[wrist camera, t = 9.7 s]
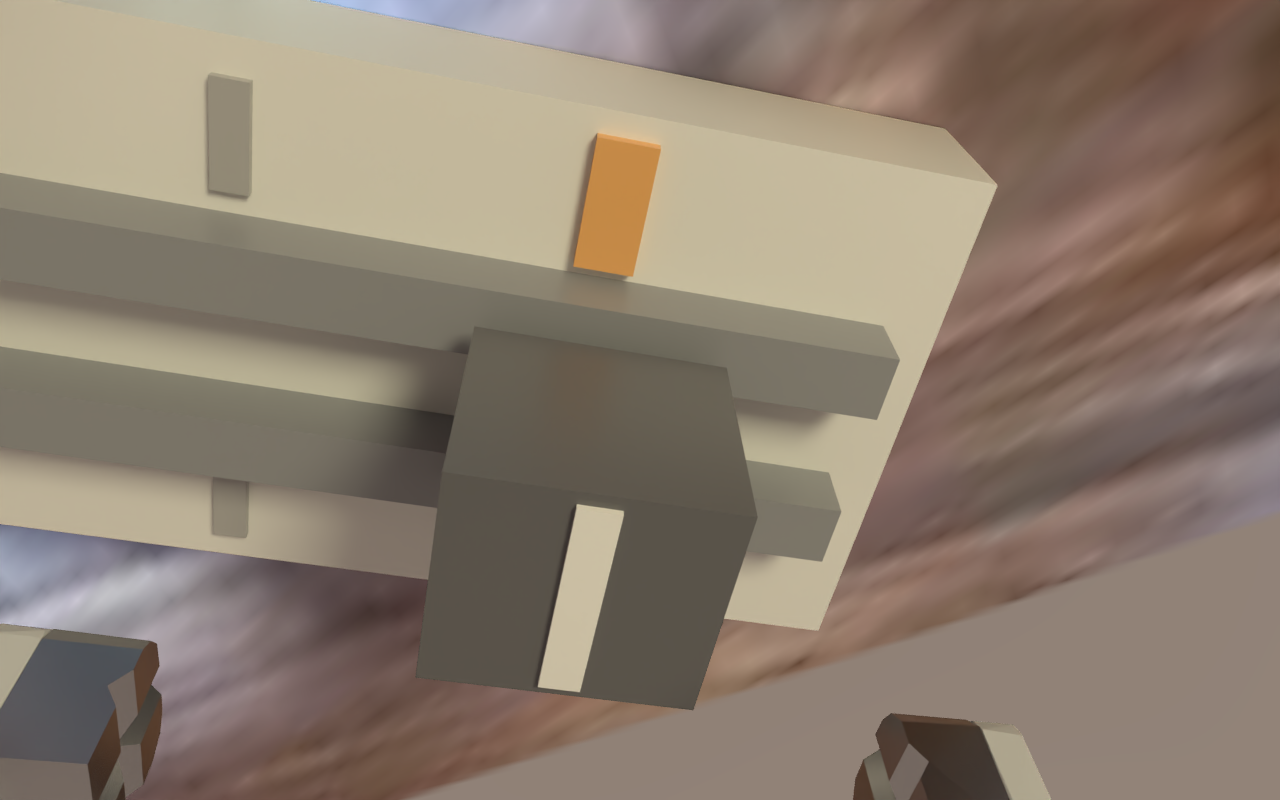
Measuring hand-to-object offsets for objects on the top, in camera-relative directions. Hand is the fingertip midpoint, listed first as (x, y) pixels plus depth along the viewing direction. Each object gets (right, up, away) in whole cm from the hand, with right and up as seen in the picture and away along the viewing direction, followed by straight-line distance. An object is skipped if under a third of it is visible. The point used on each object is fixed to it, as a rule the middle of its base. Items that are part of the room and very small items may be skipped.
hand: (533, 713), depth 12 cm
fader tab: (0, +4, +7) cm, 8 cm away
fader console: (-6, +6, +9) cm, 12 cm away
